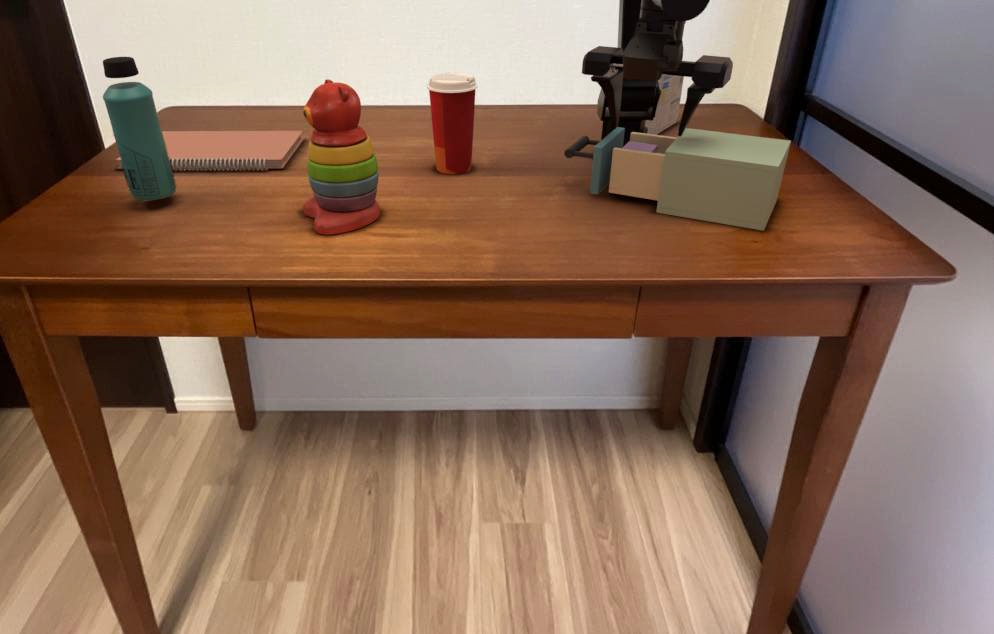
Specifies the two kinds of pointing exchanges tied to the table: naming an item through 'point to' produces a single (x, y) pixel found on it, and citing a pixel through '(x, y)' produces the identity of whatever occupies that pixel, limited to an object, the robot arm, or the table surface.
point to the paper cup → (452, 120)
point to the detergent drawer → (624, 163)
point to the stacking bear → (339, 162)
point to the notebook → (229, 149)
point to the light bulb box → (666, 104)
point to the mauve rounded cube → (641, 147)
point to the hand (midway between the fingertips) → (647, 131)
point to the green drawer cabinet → (722, 177)
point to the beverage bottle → (137, 133)
